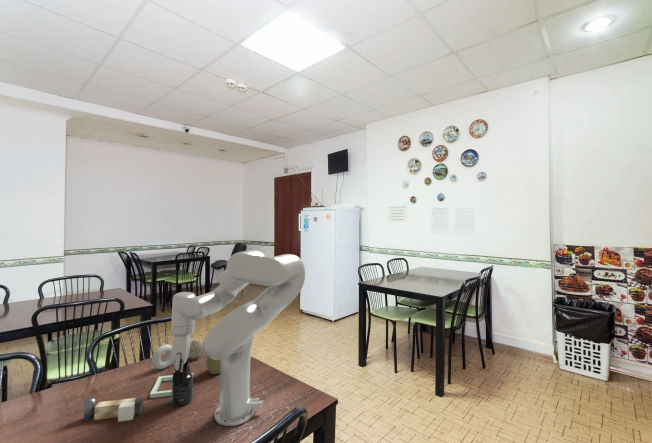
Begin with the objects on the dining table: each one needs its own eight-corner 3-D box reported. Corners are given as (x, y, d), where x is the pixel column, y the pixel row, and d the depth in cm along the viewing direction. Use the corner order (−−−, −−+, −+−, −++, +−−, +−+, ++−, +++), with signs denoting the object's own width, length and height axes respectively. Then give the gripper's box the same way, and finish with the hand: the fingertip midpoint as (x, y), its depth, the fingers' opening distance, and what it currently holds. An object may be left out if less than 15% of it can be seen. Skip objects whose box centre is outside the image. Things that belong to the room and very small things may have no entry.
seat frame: (193, 376, 127) (193, 372, 127) (188, 393, 114) (188, 389, 114) (158, 380, 123) (158, 376, 123) (149, 398, 111) (149, 394, 111)
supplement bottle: (173, 397, 112) (173, 364, 112) (193, 394, 114) (194, 362, 114) (169, 408, 105) (170, 373, 105) (191, 405, 107) (192, 370, 107)
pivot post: (96, 414, 101) (97, 396, 101) (92, 420, 99) (92, 401, 99) (86, 415, 101) (86, 397, 101) (81, 421, 98) (81, 402, 98)
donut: (172, 362, 139) (172, 340, 139) (176, 364, 137) (177, 342, 137) (149, 371, 130) (150, 348, 130) (154, 374, 128) (155, 350, 128)
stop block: (134, 415, 101) (135, 401, 101) (132, 419, 99) (132, 406, 99) (120, 416, 100) (121, 403, 100) (118, 421, 98) (118, 407, 98)
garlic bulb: (202, 361, 145) (210, 342, 145) (187, 366, 138) (195, 345, 138) (189, 351, 150) (197, 332, 150) (174, 355, 142) (182, 334, 142)
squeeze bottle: (219, 377, 127) (220, 333, 127) (202, 374, 128) (202, 331, 128) (229, 368, 135) (230, 326, 135) (212, 365, 136) (213, 325, 136)
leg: (94, 419, 99) (94, 407, 99) (98, 414, 102) (98, 402, 102) (139, 414, 102) (140, 402, 102) (142, 408, 105) (143, 397, 105)
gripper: (176, 320, 117) (174, 365, 117) (165, 338, 100) (163, 390, 101) (197, 319, 119) (195, 363, 119) (190, 336, 102) (187, 388, 103)
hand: (180, 375), depth 110 cm, fingers open, 9 cm apart
